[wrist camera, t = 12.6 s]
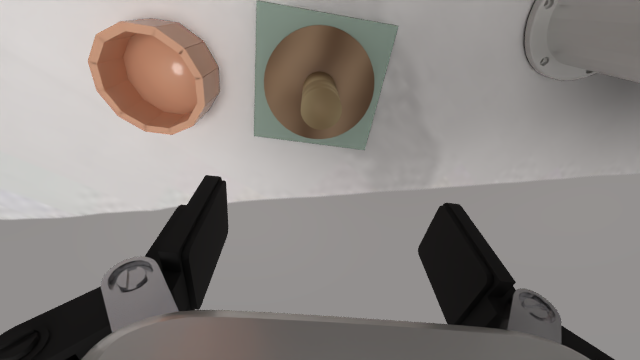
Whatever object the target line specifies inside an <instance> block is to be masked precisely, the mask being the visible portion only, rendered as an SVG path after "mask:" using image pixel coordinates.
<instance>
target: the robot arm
mask: <svg viewBox="0 0 640 360" xmlns="http://www.w3.org/2000/svg"><path fill="white" fill-rule="evenodd" d="M525 50H526V56H527V58H528V60H529V62H530V64H531V65H532V67H533V68H534V69H535V70H536V71H537V72H539V73H540V74H542V75H544V76H547V77H549V78H552V79H557V80H563V81H564V80H576V79H581V78H585V77H588V76H591V75H593V74H596V73H601V74H605V75H609V76H613V77H617V78H621V79H625V80H629V81H633V82H637V83H640V0H536V1H535V3H534V5H533V7H532V10H531V13H530V15H529V18H528V21H527V26H526V31H525ZM227 234H228V213H227V193H226V181H222V179H221V177H218V176H209V175H206V176H205V177H204V179H203V180H202V182H201V183H200V185H199V187H198V188H197V190H196V191H195V193H194V195H193V196H192V198H191V199H190V201H189V203H188V204H187V205H180V206H178V208H177V209H176V211H175V212H174V213H173V215H172V216H171V218H170V219H169V221H168V222H167V224H166V225H165V227H164V228H163V230H162V231H161V233H160V234H159V236H158V237H157V239H156V240H155V242H154V243H153V245H152V246H151V248H150V249H149V251H148V253H147V254H146V256H145V257H142V256H141V257H133V258H129V259H126V260H123V261H121V262H119V263H117V264H116V265H114V266H113V267H112V268H110V269H109V270H108V271H107V273H106V274H105V275H104V277H103V279H102V281H101V287H99V288H97V289H95V290H92V291H90V292H88V293H86V294H84V295H82V296H80V297H77V298H75V299H73V300H71V301H69V302H67V303H64V304H63V305H60V306H58V307H56V308H54V309H52V310H50V311H47V312H45V313H43V314H41V315H39V316H37V317H35V318H32V319H30V320H28V321H26V322H24V323H22V324H19V325H17V326H15V327H13V328H12V329H10V330H8V331H6V332H5V333H3V334H2V335H0V360H614V359H613V358H611V357H610V356H608V355H607V354H605V353H603V352H602V351H600V350H599V349H597V348H596V347H594V346H592V345H591V344H589V343H588V342H586V341H585V340H583V339H581V338H580V337H578V336H577V335H575V334H574V333H572V332H571V331H569V330H568V329H566V328H564V327H563V326H561V318H560V315H559V313H558V312H557V310H556V309H555V307H554V306H553V305H552V304H551V303H550V302H549V301H548V300H546V299H545V298H544V297H542V296H541V295H539V294H538V293H536V292H534V291H531V290H528V289H517V290H515V289H514V287H513V285H514V284H515V281H514V280H513V278H512V276H511V275H510V274H509V272H508V271H507V269H506V268H505V267H504V265H503V264H502V262H501V261H500V260H499V258H498V257H497V255H496V254H495V253H494V251H493V250H492V248H491V247H490V246H489V244H488V243H487V242H486V240H485V239H484V237H483V236H482V235H481V233H480V232H479V230H478V229H477V228H476V226H475V225H474V223H473V222H472V221H471V219H470V218H469V216H468V215H467V214H466V212H465V211H464V210H463V208H462V207H461V206H460V205H459V204H452V203H445V204H443V206H440V207H439V209H438V210H437V212H436V214H435V216H434V218H433V220H432V222H431V224H430V226H429V228H428V230H427V232H426V234H425V236H424V238H423V240H422V242H421V244H420V245H419V248H418V252H419V256H420V259H421V261H422V264H423V266H424V268H425V271H426V273H427V276H428V278H429V280H430V283H431V285H432V288H433V290H434V293H435V295H436V298H437V300H438V302H439V305H440V307H441V309H442V312H443V314H444V317H445V319H446V322H447V324H435V323H422V322H408V321H394V320H379V319H364V318H349V317H334V316H320V315H303V314H288V313H287V314H286V313H272V312H251V311H230V310H195V309H200V307H201V305H202V302H203V299H204V296H205V294H206V291H207V288H208V286H209V283H210V280H211V278H212V275H213V272H214V270H215V267H216V264H217V262H218V259H219V256H220V254H221V251H222V248H223V246H224V243H225V240H226V237H227Z"/></svg>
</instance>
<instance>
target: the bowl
mask: <svg viewBox="0 0 640 360" xmlns="http://www.w3.org/2000/svg"><path fill="white" fill-rule="evenodd" d="M88 63H89V67H90V70H91V73H92V77H93V80H94V83H95V87H96V90H97V92H98V93H99V94H100V95H101V97H102V98H103V99H104V100H105V101H106V102H107V104H108V105H109V106H110V107H111V108H112V110H113V111H114V112H115V113H116V114H117V115H119V117H121V118H122V119H124V120H126V121H128V122H129V123H131V124H133V125H135V126H136V127H138V128H140V129H142V130H144V131H146V132H154V133H162V134H170V135H173V134H175V133H177V132H180V131H182V130H185V129H187V128H189V127H192V126H194V125H195V124H196V123H197V122H198V120H199V119H200V118H201V117H202V116H203V115H204V114H205V113H206V112H207V111H208V110H209V109H210V107H211V105H212V104H213V102H214V100H215V99H216V97H217V95H218V94H219V91H220V89H219V69H218V65H217V64H216V62H215V60H214V58H213V57H212V55H211V53H210V51H209V50H208V48H207V46H206V44H205V42H204V41H203V40H201V39H200V38H199V37H197V36H196V35H195V34H193V33H192V32H191V31H189V30H188V29H186V28H185V27H184V26H182V25H181V24H180V23H176V22H170V21H164V20H158V19H152V18H149V19H139V20H129V21H120V22H118V23H117V24H115V25H113V26H111V27H109V28H107V29H105V30H103V31H101V32H100V33H98V34H96V36H95V39H94V42H93V45H92V49H91V52H90V55H89V58H88Z"/></svg>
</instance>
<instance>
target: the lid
mask: <svg viewBox="0 0 640 360" xmlns="http://www.w3.org/2000/svg"><path fill="white" fill-rule="evenodd" d="M374 83H375V82H374V72H373V67H372V64H371V61H370V59H369V57H368V55H367V53H366V51H365V50H364V48H363V47H362V46H361V44H360V43H359V42H358V41H357V40H356V39H355V38H353V37H352V36H351V35H350V34H348V33H346V32H345V31H343V30H341V29H338V28H336V27H332V26H327V25H311V26H307V27H303V28H300V29H298V30H296V31H294V32H292V33H290V34H289V35H288V36H286V37H285V38H284V39H283V40H282V41H281V42H280V43H279V44H278V45H277V46H276V48H275V49H274V50H273V52H272V54H271V56H270V58H269V60H268V63H267V65H266V69H265V74H264V91H265V96H266V100H267V103H268V105H269V108H270V110H271V111H272V113H273V115H274V116H275V117H276V119H277V120H278V121H279V122H280V123H281V124H282V125H283V126H284V127H285V128H287V129H288V130H290V131H291V132H293V133H295V134H297V135H299V136H302V137H305V138H310V139H327V138H332V137H336V136H339V135H341V134H343V133H345V132H347V131H348V130H350V129H351V128H353V127H354V126H355V125H356V124H357V123H358V122H359V121H360V120H361V119H362V117H363V116H364V115H365V113H366V111H367V110H368V108H369V106H370V103H371V100H372V97H373V92H374Z"/></svg>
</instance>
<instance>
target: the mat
mask: <svg viewBox="0 0 640 360" xmlns="http://www.w3.org/2000/svg"><path fill="white" fill-rule="evenodd" d="M311 25H327V26H332V27H336V28H338V29H341V30H343V31H345V32H346V33H348V34H350V35H351V36H352V37H353V38H355V39H356V40H357V41H358V42H359V43H360V44H361V46H362V47H363V48H364V50H365V51H366V53H367V55H368V57H369V59H370V61H371V64H372V67H373V72H374V82H375V83H374V92H373V97H372V100H371V103H370V106H369V108H368V110H367V111H366V113H365V115H364V116H363V117H362V119H361V120H360V121H359V122H358V123H357V124H356V125H355V126H354V127H353V128H351V129H350V130H348V131H347V132H345V133H343V134H341V135H339V136H336V137H332V138H327V139H310V138H305V137H302V136H299V135H297V134H295V133H293V132H291V131H290V130H288V129H287V128H285V127H284V126H283V125H282V124H281V123H280V122H279V121H278V120H277V119H276V117H275V116H274V115H273V113H272V111H271V110H270V108H269V105H268V103H267V100H266V96H265V91H264V74H265V69H266V65H267V63H268V60H269V58H270V56H271V54H272V52H273V50H274V49H275V48H276V46H277V45H278V44H279V43H280V42H281V41H282V40H283V39H284V38H285V37H286V36H288V35H289V34H290V33H292V32H294V31H296V30H298V29H300V28H303V27H307V26H311ZM397 30H398V26H396V25H390V24H384V23H379V22H373V21H368V20H362V19H357V18H351V17H346V16H340V15H335V14H329V13H324V12H318V11H312V10H307V9H301V8H296V7H290V6H285V5H279V4H274V3H268V2H263V1H257V8H256V60H255V112H254V136H258V137H266V138H273V139H281V140H289V141H297V142H305V143H312V144H320V145H328V146H336V147H343V148H351V149H359V150H365V147H366V143H367V139H368V136H369V132H370V128H371V125H372V121H373V117H374V114H375V110H376V106H377V103H378V99H379V96H380V92H381V88H382V85H383V81H384V77H385V74H386V70H387V66H388V63H389V59H390V55H391V52H392V48H393V44H394V41H395V37H396V33H397Z"/></svg>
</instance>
